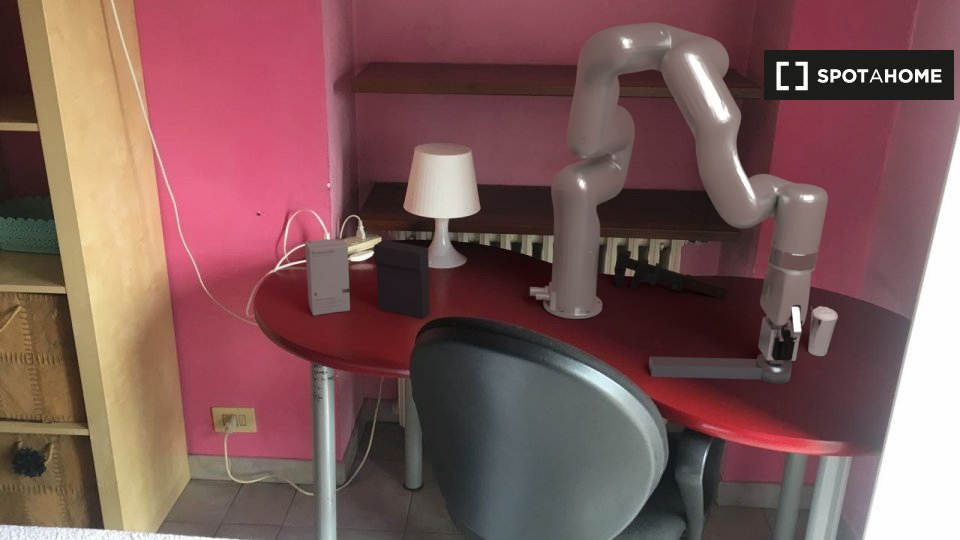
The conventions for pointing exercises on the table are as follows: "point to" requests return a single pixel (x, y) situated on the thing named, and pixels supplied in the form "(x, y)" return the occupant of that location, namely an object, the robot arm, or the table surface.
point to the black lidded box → (402, 278)
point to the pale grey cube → (772, 338)
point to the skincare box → (327, 276)
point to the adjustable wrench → (663, 276)
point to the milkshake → (821, 330)
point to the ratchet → (722, 368)
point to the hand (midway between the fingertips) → (776, 350)
